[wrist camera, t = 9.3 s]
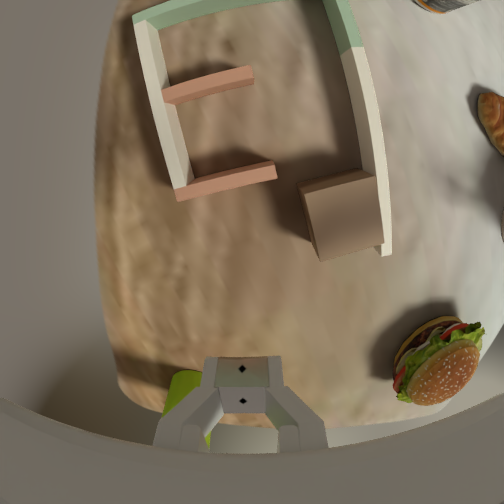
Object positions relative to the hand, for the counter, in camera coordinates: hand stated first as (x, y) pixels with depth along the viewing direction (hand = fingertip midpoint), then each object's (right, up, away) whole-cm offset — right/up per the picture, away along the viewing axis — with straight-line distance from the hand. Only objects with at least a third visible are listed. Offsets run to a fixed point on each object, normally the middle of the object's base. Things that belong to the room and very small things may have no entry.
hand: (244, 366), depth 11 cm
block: (+7, +9, +13) cm, 17 cm away
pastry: (+28, +18, +8) cm, 34 cm away
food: (+25, -8, +21) cm, 33 cm away
